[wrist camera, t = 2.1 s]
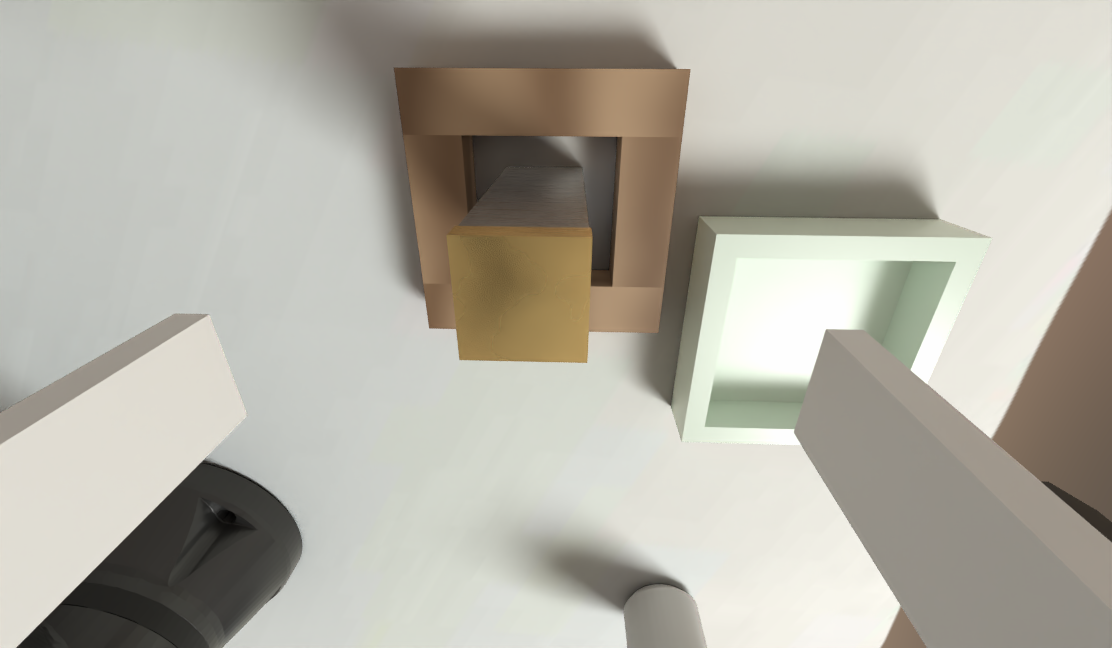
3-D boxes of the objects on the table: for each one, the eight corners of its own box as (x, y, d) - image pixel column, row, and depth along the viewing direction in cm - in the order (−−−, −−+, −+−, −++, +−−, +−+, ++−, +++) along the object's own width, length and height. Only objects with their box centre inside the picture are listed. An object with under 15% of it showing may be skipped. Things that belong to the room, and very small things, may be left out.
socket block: (440, 309, 29) (429, 328, 26) (411, 69, 23) (393, 67, 20) (651, 313, 28) (658, 332, 26) (678, 70, 22) (690, 69, 20)
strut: (509, 240, 26) (459, 359, 15) (505, 165, 24) (446, 235, 13) (581, 241, 26) (587, 362, 15) (583, 166, 24) (592, 237, 13)
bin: (670, 406, 31) (681, 441, 28) (698, 216, 25) (716, 234, 22) (865, 411, 31) (898, 447, 28) (940, 219, 25) (992, 238, 22)
